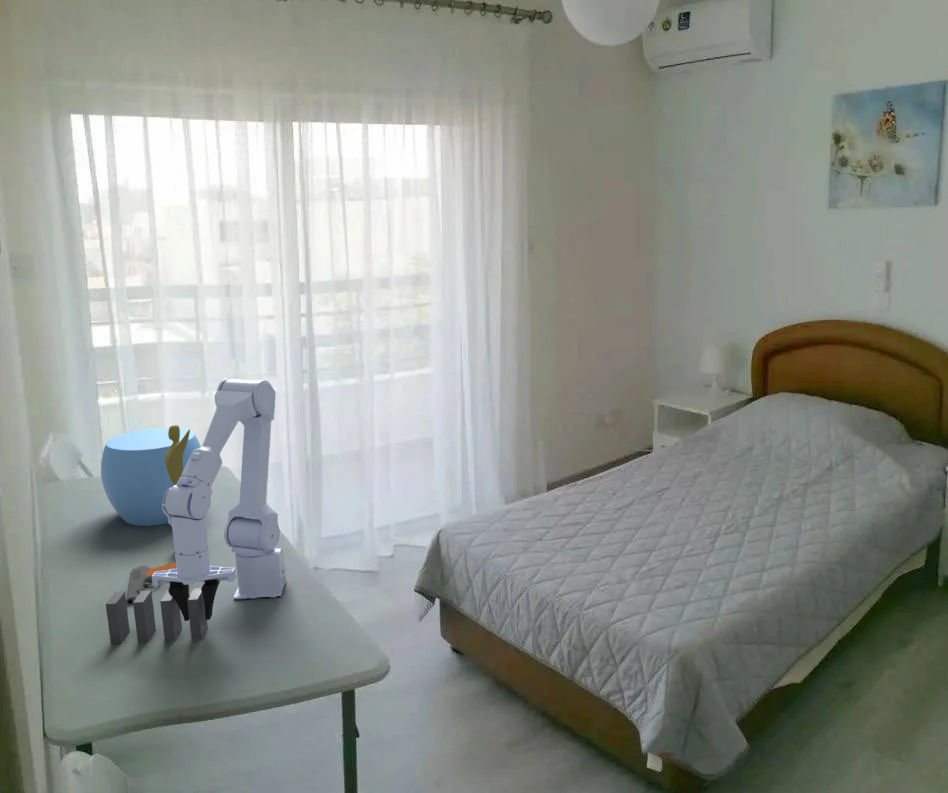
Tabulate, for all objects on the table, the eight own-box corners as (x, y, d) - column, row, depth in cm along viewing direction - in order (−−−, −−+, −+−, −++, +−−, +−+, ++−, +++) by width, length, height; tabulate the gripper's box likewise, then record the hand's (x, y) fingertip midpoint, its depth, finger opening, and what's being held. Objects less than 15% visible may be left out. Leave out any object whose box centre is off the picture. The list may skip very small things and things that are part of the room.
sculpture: (166, 548, 194) (153, 423, 188) (196, 539, 199) (184, 418, 193) (187, 562, 186) (173, 432, 180) (217, 552, 191) (205, 426, 185)
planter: (181, 491, 234) (174, 421, 230) (227, 512, 217) (220, 436, 213) (91, 515, 217) (81, 440, 213) (133, 539, 200) (123, 458, 195)
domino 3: (207, 627, 157) (203, 587, 155) (201, 639, 152) (197, 599, 151) (198, 627, 157) (194, 588, 155) (191, 640, 152) (187, 599, 150)
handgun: (188, 596, 171) (125, 606, 167) (189, 566, 185) (131, 574, 182) (187, 588, 170) (124, 598, 167) (188, 559, 185) (130, 567, 181)
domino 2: (182, 628, 157) (177, 588, 155) (174, 641, 152) (170, 600, 150) (172, 628, 157) (167, 589, 155) (164, 641, 152) (160, 601, 150)
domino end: (129, 630, 156) (124, 591, 154) (120, 643, 151) (115, 603, 150) (119, 631, 156) (114, 592, 154) (110, 644, 151) (105, 603, 150)
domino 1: (155, 629, 156) (151, 590, 155) (147, 642, 152) (143, 602, 150) (146, 630, 156) (141, 590, 155) (137, 643, 152) (132, 602, 150)
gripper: (143, 560, 147) (151, 630, 150) (227, 556, 148) (233, 626, 151) (155, 544, 154) (163, 612, 157) (235, 540, 154) (241, 607, 157)
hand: (198, 617), depth 154 cm, fingers open, 3 cm apart
